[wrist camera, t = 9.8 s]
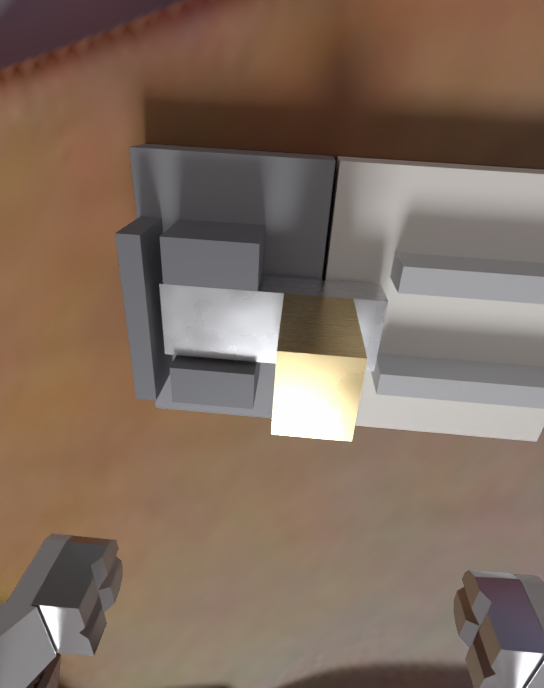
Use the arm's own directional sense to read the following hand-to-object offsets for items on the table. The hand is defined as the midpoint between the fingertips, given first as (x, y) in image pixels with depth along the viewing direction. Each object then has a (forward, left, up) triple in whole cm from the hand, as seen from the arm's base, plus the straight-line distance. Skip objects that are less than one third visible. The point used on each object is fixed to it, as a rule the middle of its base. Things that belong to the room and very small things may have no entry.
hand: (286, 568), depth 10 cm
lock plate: (-3, -1, -15) cm, 16 cm away
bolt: (+1, -1, -13) cm, 13 cm away
